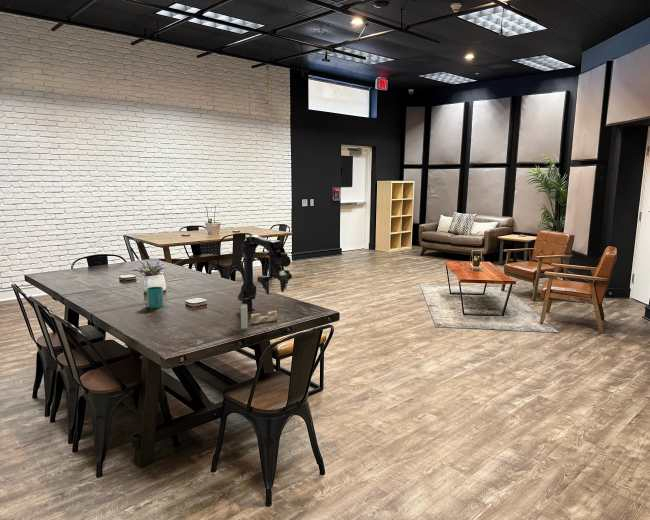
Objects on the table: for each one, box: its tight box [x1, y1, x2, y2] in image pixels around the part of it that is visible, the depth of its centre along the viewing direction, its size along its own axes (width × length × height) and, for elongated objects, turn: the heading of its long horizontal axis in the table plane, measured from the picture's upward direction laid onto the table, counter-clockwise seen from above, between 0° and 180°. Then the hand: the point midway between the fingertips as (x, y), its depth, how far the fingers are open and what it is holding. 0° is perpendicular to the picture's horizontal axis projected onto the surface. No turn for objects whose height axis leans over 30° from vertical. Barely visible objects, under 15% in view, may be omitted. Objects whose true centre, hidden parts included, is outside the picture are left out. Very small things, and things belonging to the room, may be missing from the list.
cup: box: [146, 286, 165, 309], centre depth 284 cm, size 9×12×11 cm
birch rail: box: [250, 310, 278, 324], centre depth 255 cm, size 14×2×4 cm, turn 119°
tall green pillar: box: [240, 303, 249, 330], centre depth 245 cm, size 7×3×11 cm, turn 7°
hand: (275, 293), depth 255 cm, fingers open, 9 cm apart
